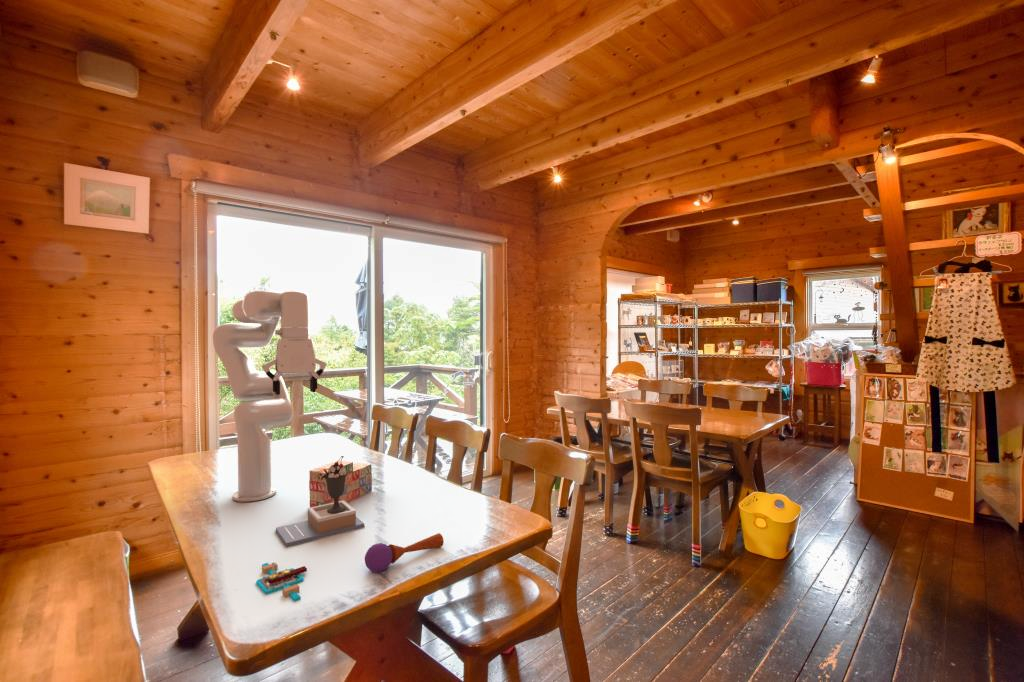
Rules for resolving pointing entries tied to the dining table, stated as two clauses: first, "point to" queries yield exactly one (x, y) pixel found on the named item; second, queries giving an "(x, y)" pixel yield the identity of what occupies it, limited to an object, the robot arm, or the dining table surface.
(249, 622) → the dining table surface
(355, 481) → the stack of blocks
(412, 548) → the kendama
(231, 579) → the dining table surface
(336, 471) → the sundae
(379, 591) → the dining table surface
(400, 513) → the dining table surface
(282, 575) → the gear mechanism
